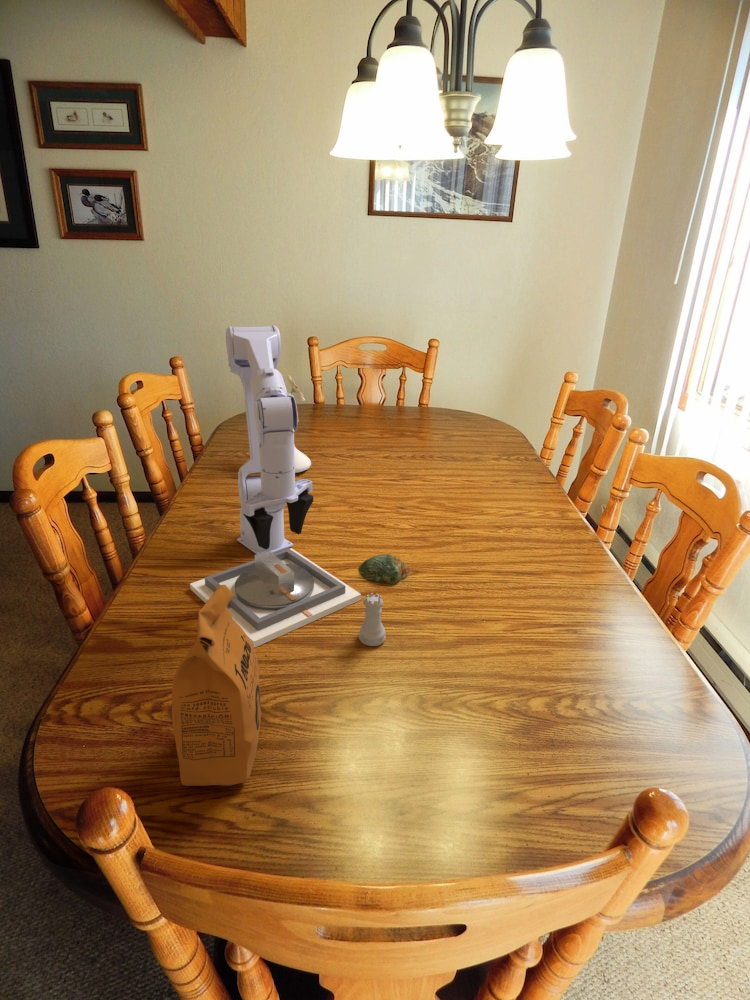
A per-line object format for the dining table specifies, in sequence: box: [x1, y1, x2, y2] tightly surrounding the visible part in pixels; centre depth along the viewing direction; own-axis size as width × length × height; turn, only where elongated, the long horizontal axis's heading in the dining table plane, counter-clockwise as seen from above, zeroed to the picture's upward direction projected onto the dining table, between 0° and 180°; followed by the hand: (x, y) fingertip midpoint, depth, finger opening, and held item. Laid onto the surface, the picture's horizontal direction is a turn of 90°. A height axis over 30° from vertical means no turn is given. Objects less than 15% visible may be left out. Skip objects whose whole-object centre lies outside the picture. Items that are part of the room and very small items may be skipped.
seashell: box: [358, 553, 411, 585], centre depth 121 cm, size 10×4×10 cm
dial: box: [235, 551, 314, 609], centre depth 111 cm, size 14×14×5 cm
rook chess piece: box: [358, 592, 387, 647], centre depth 100 cm, size 4×4×8 cm
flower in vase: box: [287, 375, 312, 474], centre depth 165 cm, size 13×11×25 cm
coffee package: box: [171, 585, 262, 787], centre depth 74 cm, size 10×12×22 cm
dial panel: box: [189, 547, 362, 649], centre depth 112 cm, size 22×22×3 cm
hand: (280, 539), depth 110 cm, fingers open, 7 cm apart
